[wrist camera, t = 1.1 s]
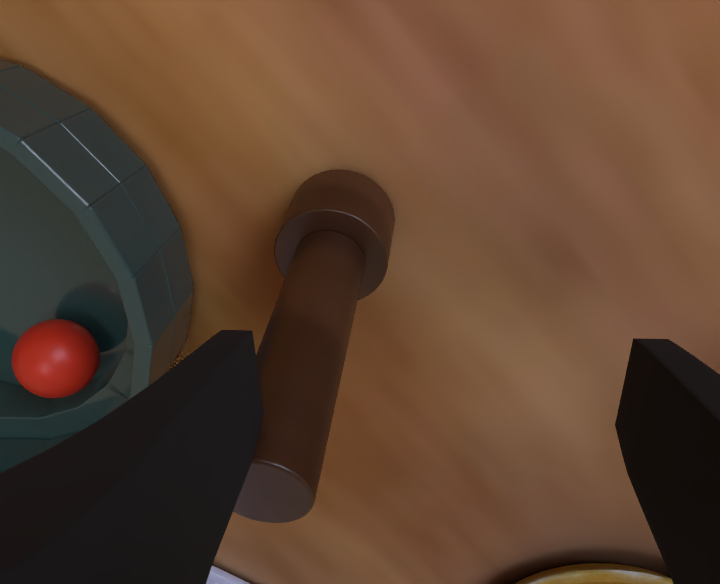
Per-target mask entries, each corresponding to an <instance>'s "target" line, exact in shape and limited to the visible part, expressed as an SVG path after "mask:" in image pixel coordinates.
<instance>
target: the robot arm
mask: <svg viewBox="0 0 720 584" xmlns="http://www.w3.org/2000/svg"><path fill="white" fill-rule="evenodd" d="M263 415H264V409H263V402H262V395H261V388H260V381H259V374H258V367H257V360H256V353H255V346H254V339H253V332H252V331H244V330H222V331H220V332H219V333H217V334H216V335H214V336H213V337H212V338H210V339H209V340H208V341H206V342H205V343H204V344H203V345H201V346H200V347H199V348H197V349H196V350H195V351H194V352H192V353H191V354H190V355H189V356H187V357H186V358H185V359H183V360H182V361H181V362H180V363H178V364H177V365H176V366H174V367H173V368H172V369H170V370H169V371H168V372H166V373H165V374H164V375H163V376H161V377H160V378H159V379H157V380H156V381H155V382H153V383H152V384H151V385H149V386H148V387H146V388H145V389H144V390H142V391H141V392H139V393H138V394H136V395H135V396H133V397H132V398H131V399H129V400H128V401H126V402H125V403H123V404H122V405H121V406H119V407H118V408H116V409H115V410H113V411H112V412H110V413H109V414H107V415H106V416H104V417H103V418H101V419H100V420H98V421H96V422H95V423H93V424H92V425H90V426H88V427H87V428H85V429H83V430H82V431H80V432H78V433H76V434H75V435H73V436H71V437H69V438H68V439H66V440H64V441H62V442H61V443H59V444H57V445H55V446H53V447H52V448H50V449H48V450H46V451H44V452H42V453H40V454H38V455H36V456H34V457H32V458H30V459H28V460H26V461H24V462H21V463H19V464H17V465H15V466H13V467H11V468H9V469H7V470H5V471H3V472H1V473H0V584H250V583H248V582H246V581H244V580H242V579H240V578H238V577H236V576H234V575H231V574H229V573H227V572H225V571H223V570H221V569H219V568H217V567H215V566H213V565H212V564H213V561H214V558H215V556H216V553H217V551H218V548H219V545H220V543H221V540H222V538H223V535H224V533H225V530H226V528H227V525H228V522H229V520H230V517H231V515H232V512H233V510H234V507H235V504H236V502H237V499H238V497H239V494H240V492H241V489H242V486H243V484H244V481H245V479H246V476H247V473H248V471H249V468H250V465H251V463H252V460H253V457H254V453H255V449H256V445H257V441H258V437H259V433H260V428H261V424H262V420H263ZM615 426H616V430H617V435H618V439H619V443H620V447H621V451H622V455H623V458H624V462H625V466H626V469H627V473H628V475H629V478H630V480H631V483H632V486H633V488H634V490H635V493H636V495H637V498H638V500H639V503H640V505H641V507H642V510H643V512H644V515H645V517H646V519H647V522H648V524H649V527H650V529H651V531H652V534H653V536H654V539H655V541H656V543H657V546H658V548H659V550H660V553H661V555H662V558H663V560H664V562H665V565H666V567H667V569H668V572H669V574H670V577H671V579H672V581H673V584H720V374H718V373H717V372H715V371H714V370H713V369H711V368H710V367H708V366H707V365H706V364H704V363H703V362H701V361H700V360H699V359H697V358H696V357H694V356H693V355H692V354H690V353H689V352H687V351H686V350H684V349H683V348H681V347H680V346H678V345H677V344H675V343H673V342H672V341H670V340H668V339H633V343H632V347H631V352H630V357H629V362H628V366H627V371H626V376H625V381H624V385H623V390H622V395H621V400H620V404H619V409H618V414H617V419H616V423H615Z"/></svg>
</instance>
